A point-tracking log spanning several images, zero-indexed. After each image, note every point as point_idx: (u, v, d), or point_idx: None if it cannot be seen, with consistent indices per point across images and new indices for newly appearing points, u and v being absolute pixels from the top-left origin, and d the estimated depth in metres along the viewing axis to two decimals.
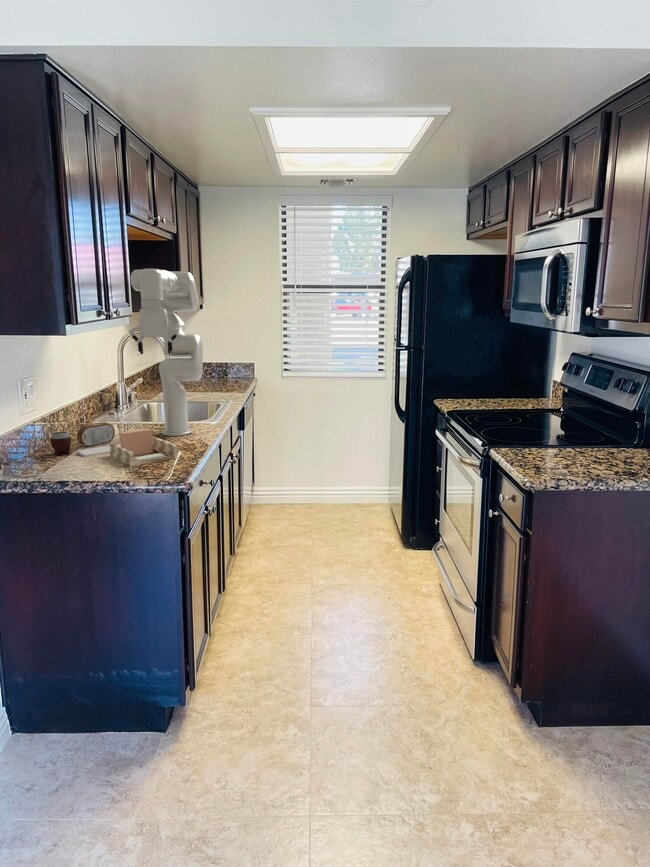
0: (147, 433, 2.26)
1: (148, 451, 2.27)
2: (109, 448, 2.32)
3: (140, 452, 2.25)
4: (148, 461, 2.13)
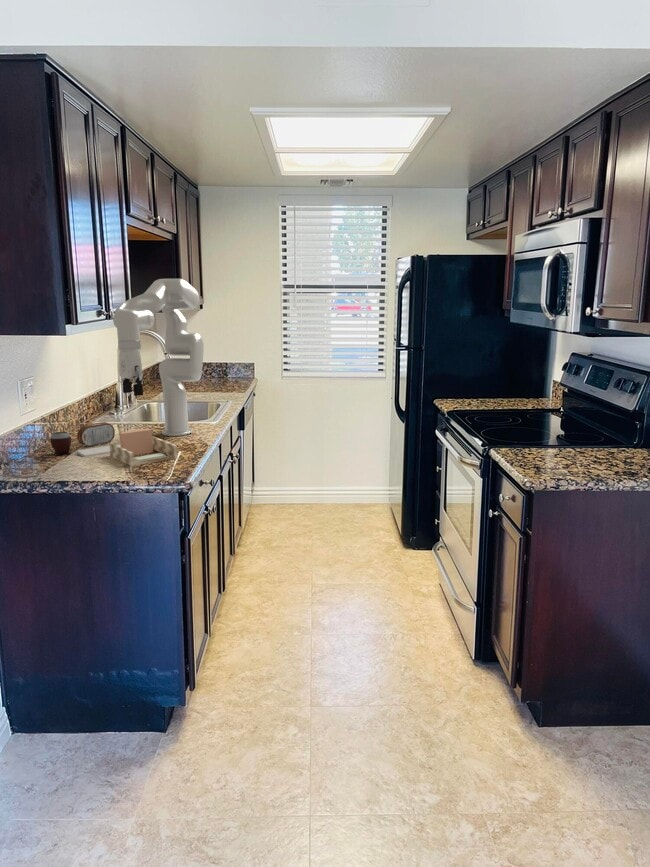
0: (147, 433, 2.26)
1: (148, 451, 2.27)
2: (109, 448, 2.32)
3: (140, 452, 2.25)
4: (148, 461, 2.13)
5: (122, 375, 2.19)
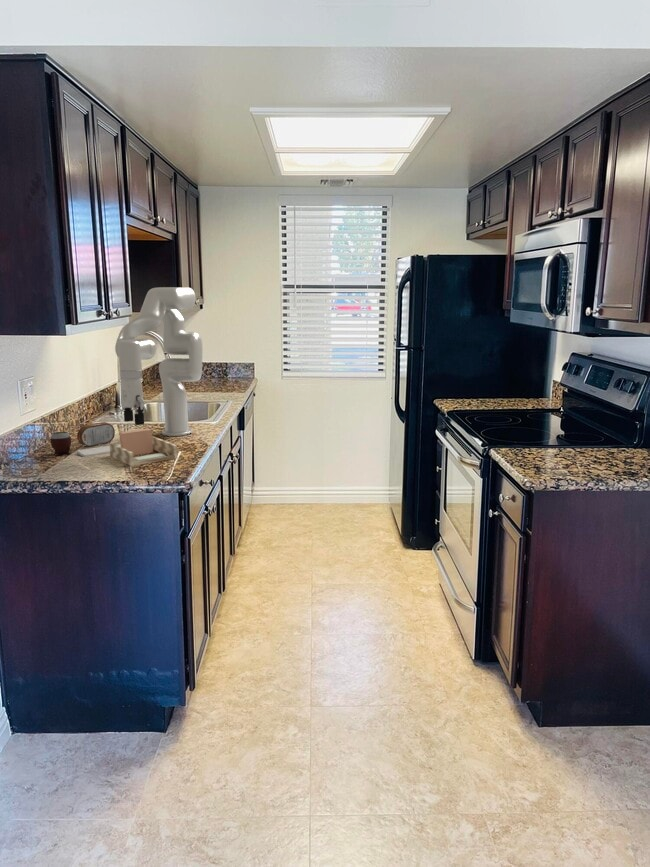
0: (147, 433, 2.26)
1: (148, 451, 2.27)
2: (109, 448, 2.32)
3: (140, 452, 2.25)
4: (148, 461, 2.13)
5: (123, 404, 2.21)
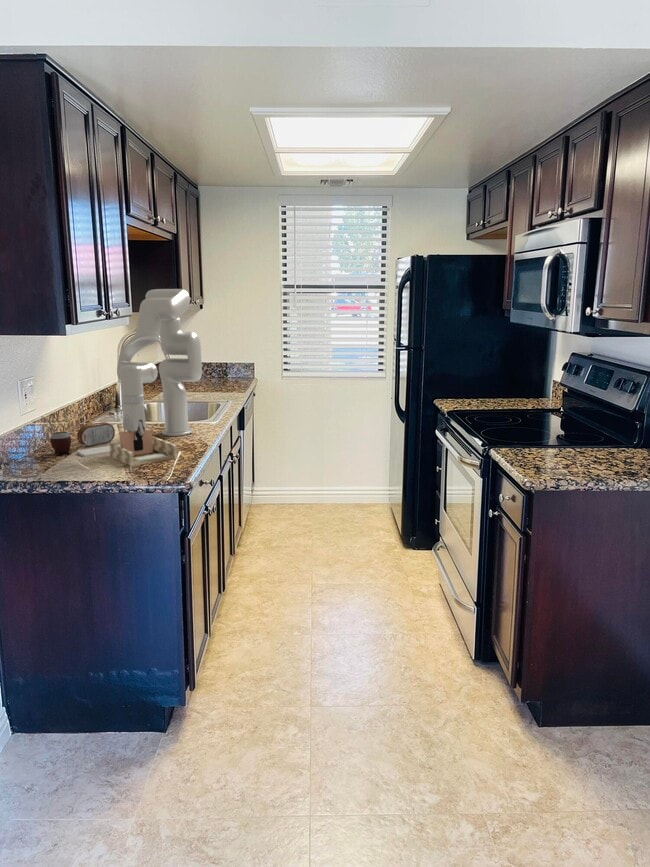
0: (147, 433, 2.26)
1: (148, 451, 2.27)
2: (109, 448, 2.32)
3: (140, 452, 2.25)
4: (148, 461, 2.13)
5: (126, 428, 2.23)
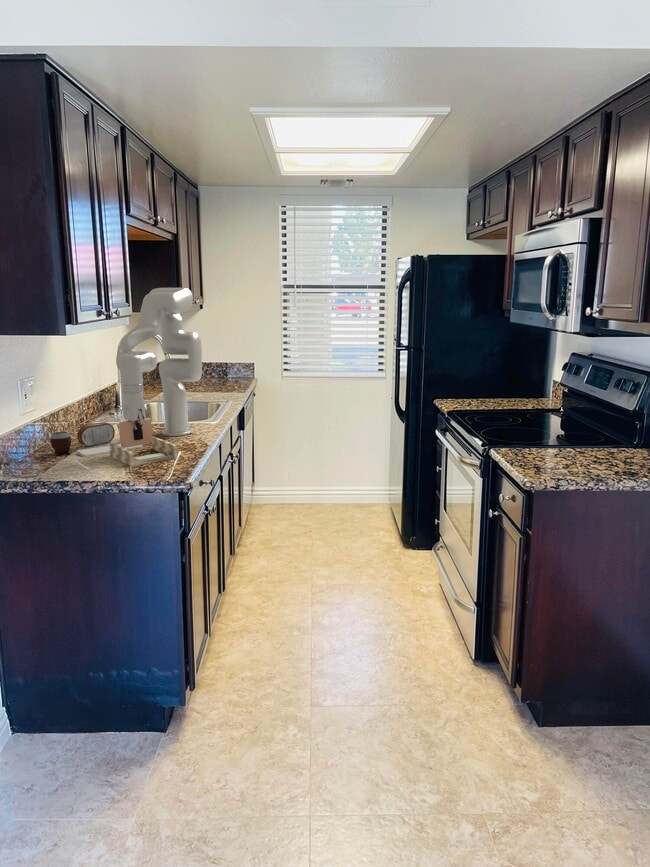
0: (147, 422, 2.25)
1: (148, 440, 2.27)
2: (109, 448, 2.32)
3: (140, 441, 2.25)
4: (148, 461, 2.13)
5: (126, 417, 2.23)
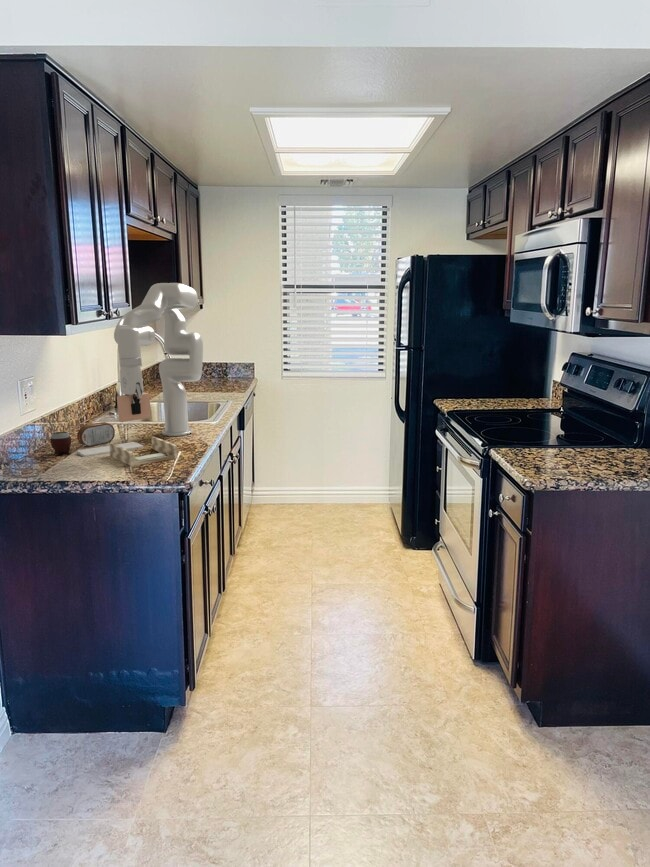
0: (145, 397, 2.23)
1: (146, 415, 2.25)
2: (109, 448, 2.32)
3: (138, 416, 2.23)
4: (148, 461, 2.13)
5: (123, 391, 2.20)
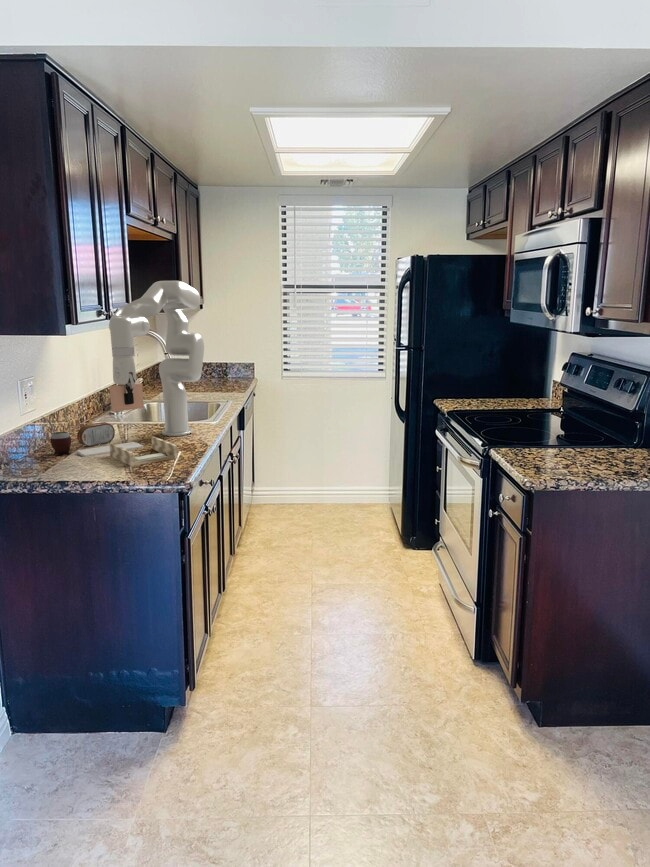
0: (138, 387, 2.24)
1: (138, 405, 2.25)
2: (109, 448, 2.32)
3: (130, 406, 2.23)
4: (148, 461, 2.13)
5: (116, 381, 2.21)
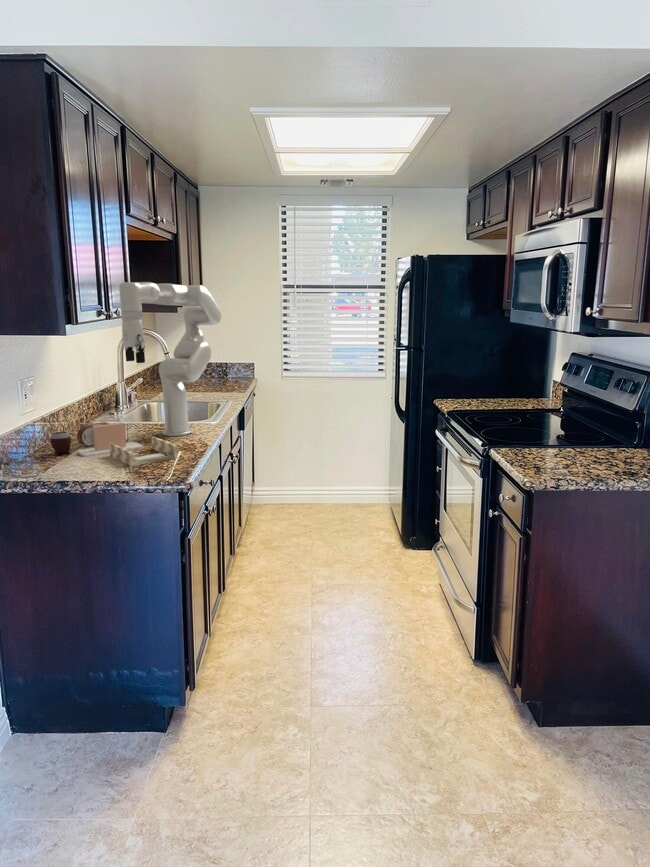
0: (120, 427, 2.32)
1: (121, 444, 2.34)
2: None
3: None
4: (148, 461, 2.13)
5: (125, 344, 2.33)
